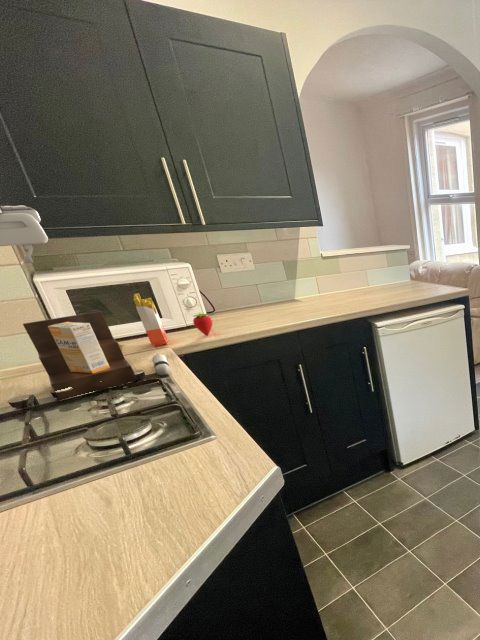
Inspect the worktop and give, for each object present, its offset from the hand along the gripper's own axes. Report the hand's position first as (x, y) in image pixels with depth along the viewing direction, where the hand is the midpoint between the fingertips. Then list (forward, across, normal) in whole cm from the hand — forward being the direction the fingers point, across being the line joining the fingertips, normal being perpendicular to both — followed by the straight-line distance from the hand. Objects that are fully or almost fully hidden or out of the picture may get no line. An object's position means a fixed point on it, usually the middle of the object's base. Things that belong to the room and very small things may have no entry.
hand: (3, 265), depth 106 cm
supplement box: (+28, -6, +11) cm, 31 cm away
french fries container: (+33, -27, -25) cm, 50 cm away
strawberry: (+33, -41, -22) cm, 57 cm away
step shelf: (+33, -6, +7) cm, 34 cm away
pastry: (+33, -12, -28) cm, 45 cm away
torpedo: (+33, -21, +9) cm, 41 cm away
